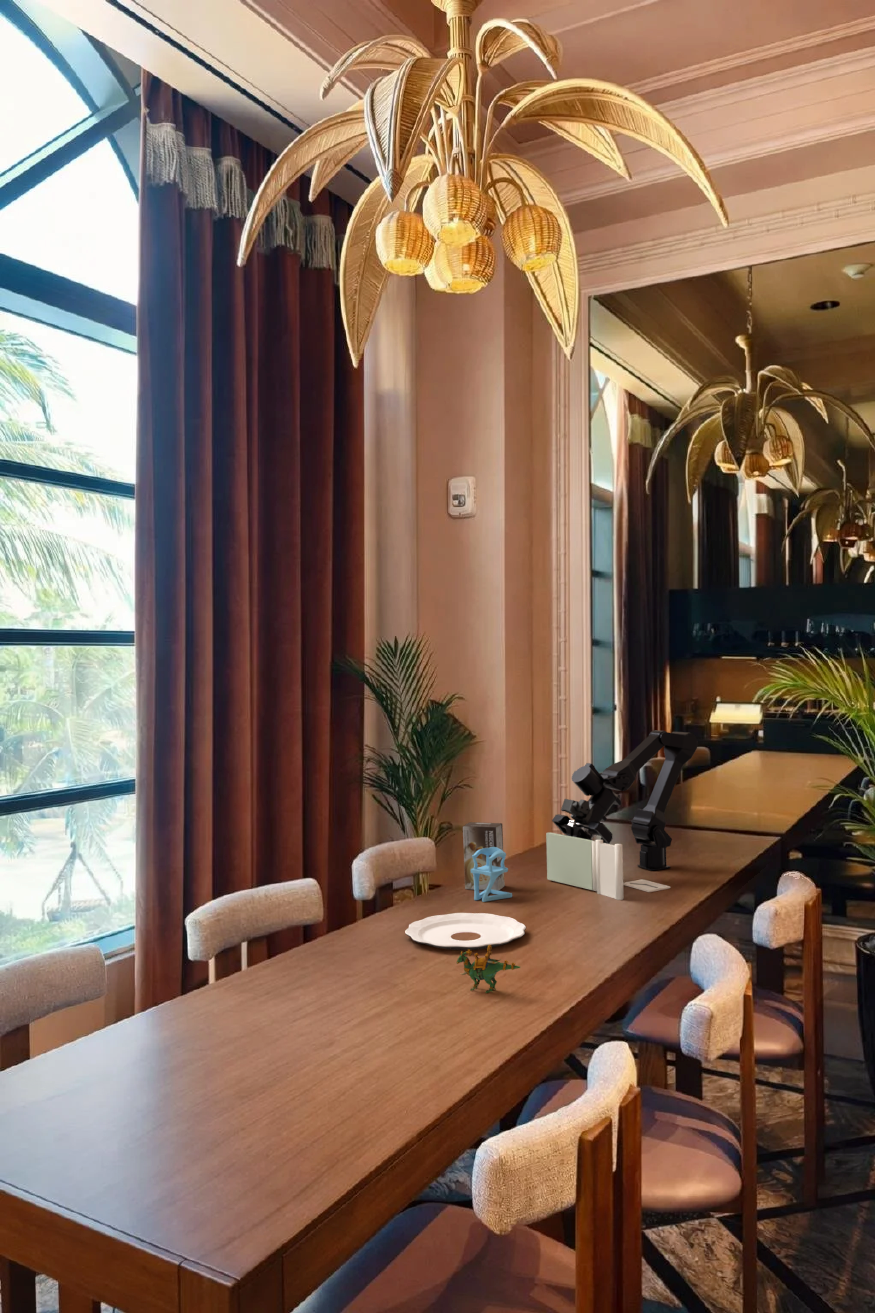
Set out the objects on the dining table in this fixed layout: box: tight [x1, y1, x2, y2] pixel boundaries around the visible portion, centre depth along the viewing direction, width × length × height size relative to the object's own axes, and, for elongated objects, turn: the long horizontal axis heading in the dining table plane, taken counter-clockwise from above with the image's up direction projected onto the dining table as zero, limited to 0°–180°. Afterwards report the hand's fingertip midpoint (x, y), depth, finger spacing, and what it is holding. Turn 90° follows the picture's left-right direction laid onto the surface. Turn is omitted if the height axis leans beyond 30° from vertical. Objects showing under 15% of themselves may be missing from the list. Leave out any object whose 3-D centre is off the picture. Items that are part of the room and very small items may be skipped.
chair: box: [471, 847, 513, 903], centre depth 239 cm, size 8×8×12 cm
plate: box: [404, 912, 527, 951], centre depth 207 cm, size 25×25×2 cm
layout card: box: [623, 878, 671, 893], centre depth 247 cm, size 10×7×1 cm
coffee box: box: [462, 821, 505, 891], centre depth 250 cm, size 9×6×16 cm
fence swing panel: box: [545, 831, 597, 892], centre depth 249 cm, size 17×1×12 cm, turn 37°
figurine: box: [456, 945, 521, 994], centre depth 173 cm, size 3×12×8 cm, turn 67°
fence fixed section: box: [595, 838, 624, 901], centre depth 238 cm, size 9×2×13 cm, turn 31°
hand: (564, 854), depth 253 cm, fingers closed, pressing on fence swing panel
